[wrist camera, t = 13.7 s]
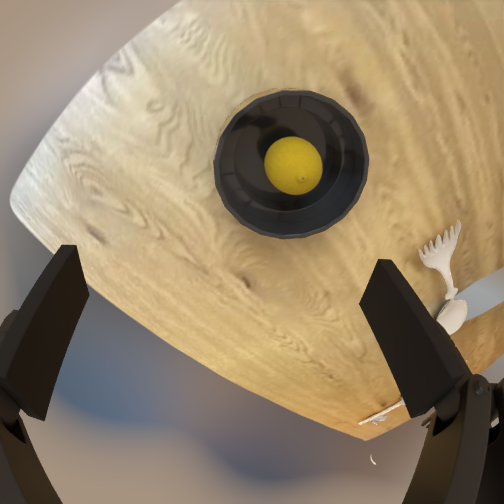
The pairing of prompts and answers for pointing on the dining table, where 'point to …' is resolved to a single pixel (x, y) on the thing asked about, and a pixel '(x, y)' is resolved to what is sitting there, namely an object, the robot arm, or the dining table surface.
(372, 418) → the dried plant stem
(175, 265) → the dining table surface
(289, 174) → the lemon
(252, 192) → the black mixing bowl
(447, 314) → the back scratcher
